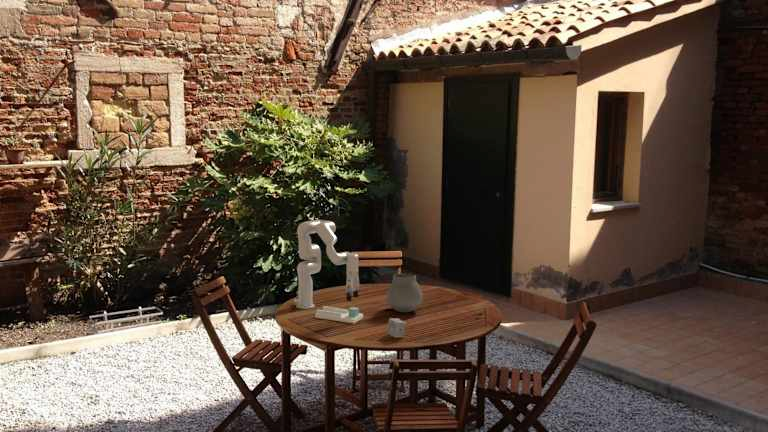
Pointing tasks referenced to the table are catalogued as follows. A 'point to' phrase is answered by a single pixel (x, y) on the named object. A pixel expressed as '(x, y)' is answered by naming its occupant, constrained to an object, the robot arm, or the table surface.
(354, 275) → the robot arm
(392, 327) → the incense holder
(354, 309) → the block
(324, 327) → the table surface
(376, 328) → the table surface
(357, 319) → the deck
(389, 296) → the ceramic pot
